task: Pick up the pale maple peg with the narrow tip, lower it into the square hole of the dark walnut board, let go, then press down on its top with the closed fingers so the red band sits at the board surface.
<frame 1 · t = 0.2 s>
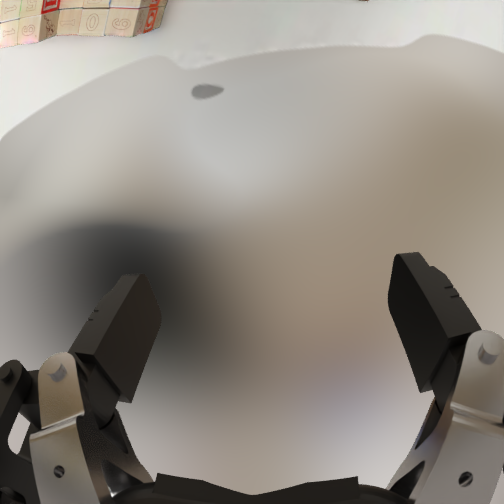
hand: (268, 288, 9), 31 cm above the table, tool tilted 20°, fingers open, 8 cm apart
stack of blocks: (89, 1, 20), on the table
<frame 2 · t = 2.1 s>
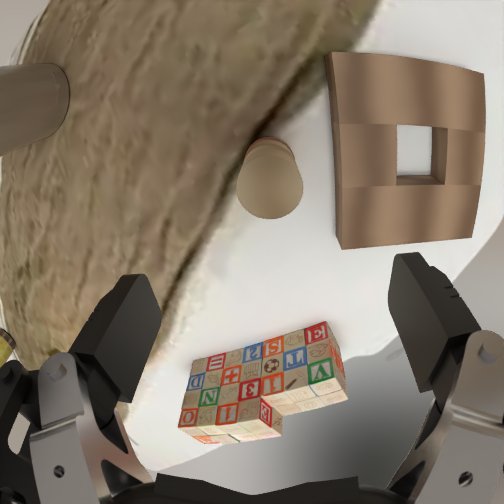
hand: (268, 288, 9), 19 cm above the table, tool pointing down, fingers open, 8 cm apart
peg: (269, 154, 25), on the table
board: (409, 148, 24), on the table
stack of blocks: (263, 354, 40), on the table
sauce bottle: (7, 336, 47), on the table
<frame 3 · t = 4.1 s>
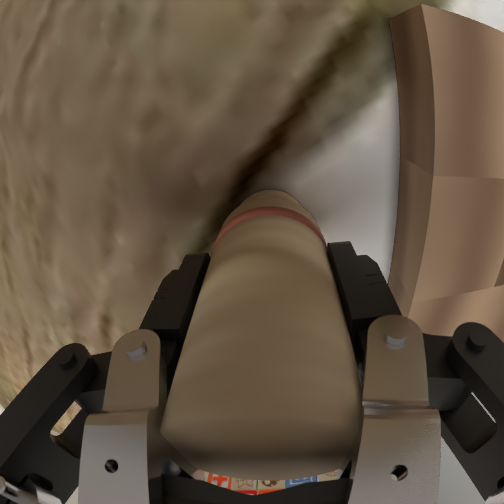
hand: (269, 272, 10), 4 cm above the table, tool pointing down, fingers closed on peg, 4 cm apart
peg: (270, 223, 13), on the table, touching gripper
stack of blocks: (261, 447, 28), on the table
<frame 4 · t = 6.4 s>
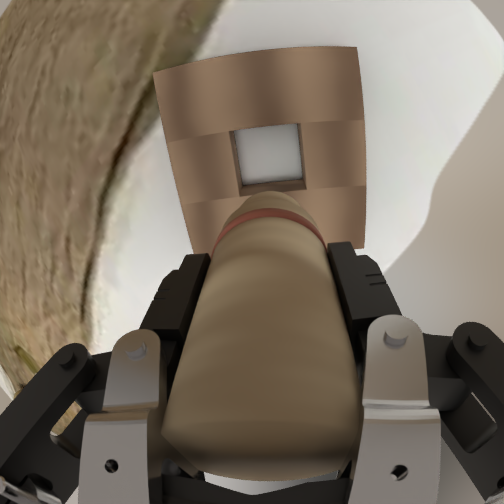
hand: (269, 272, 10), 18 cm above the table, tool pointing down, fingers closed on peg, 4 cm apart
peg: (270, 224, 13), point 14 cm above the table, touching gripper
board: (268, 152, 25), on the table
when the fingers open (4 cm above the table, at t = 8.9 s): peg stays where it is, resting in board.
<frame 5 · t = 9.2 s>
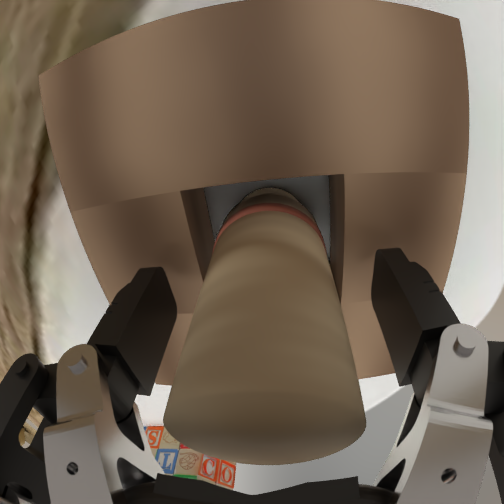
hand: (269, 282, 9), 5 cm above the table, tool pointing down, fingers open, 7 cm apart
peg: (270, 220, 13), resting in board
board: (270, 219, 13), on the table
stack of blocks: (155, 434, 30), on the table
tan toy head: (16, 422, 50), on the table
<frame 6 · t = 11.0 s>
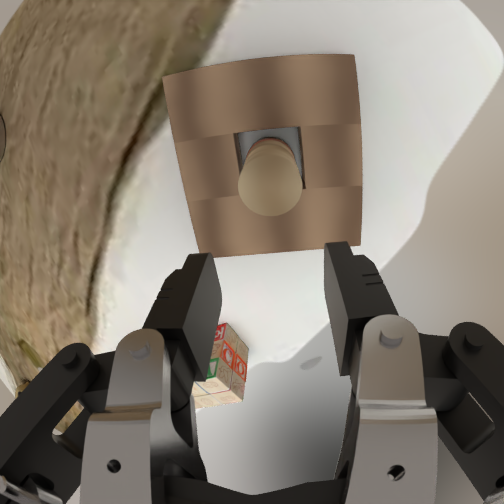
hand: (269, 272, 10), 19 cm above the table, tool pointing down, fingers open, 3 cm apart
peg: (270, 154, 26), resting in board
board: (270, 154, 26), on the table
stack of blocks: (180, 351, 42), on the table
tan toy head: (34, 386, 62), on the table
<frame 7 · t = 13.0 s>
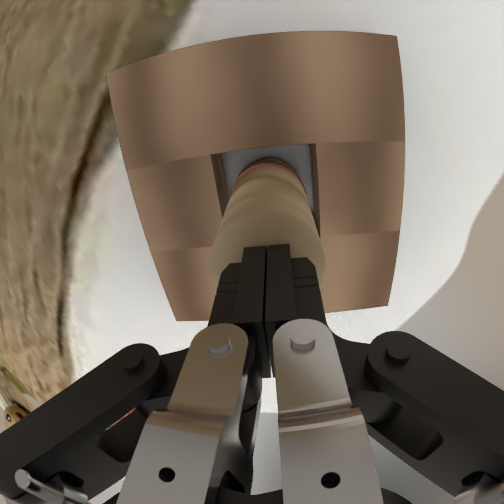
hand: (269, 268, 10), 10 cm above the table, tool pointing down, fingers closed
peg: (268, 181, 18), resting in board, touching gripper
board: (268, 181, 18), on the table
tan toy head: (23, 407, 55), on the table
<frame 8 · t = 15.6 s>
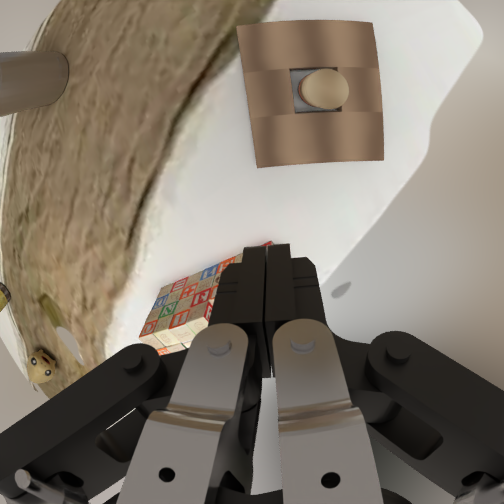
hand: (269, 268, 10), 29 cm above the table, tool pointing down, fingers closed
peg: (312, 90, 31), resting in board
board: (312, 90, 31), on the table
stack of blocks: (221, 279, 47), on the table
tan toy head: (48, 354, 67), on the table
sauce bottle: (4, 290, 55), on the table
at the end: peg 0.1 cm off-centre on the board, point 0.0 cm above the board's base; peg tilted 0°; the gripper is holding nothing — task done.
